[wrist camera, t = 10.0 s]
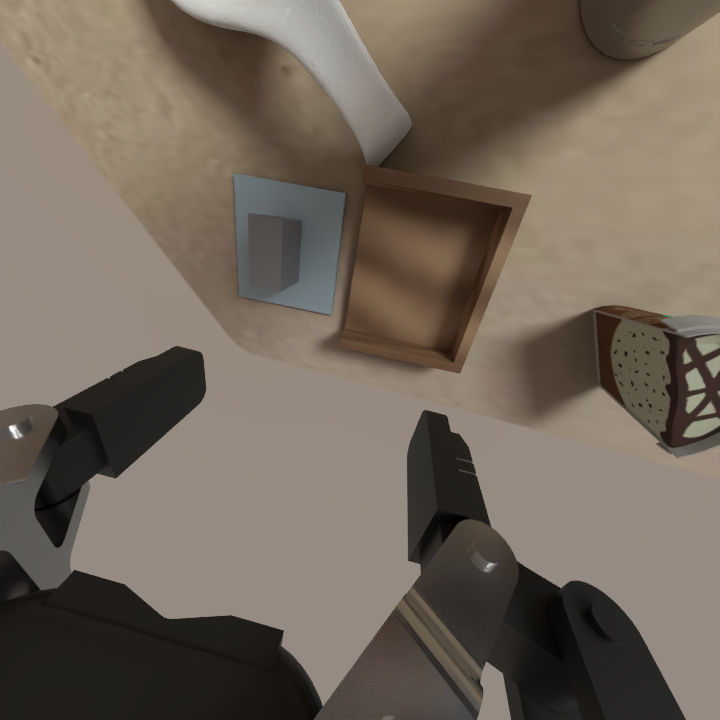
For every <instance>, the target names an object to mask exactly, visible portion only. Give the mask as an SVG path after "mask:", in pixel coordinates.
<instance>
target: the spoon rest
mask: <svg viewBox="0 0 720 720" xmlns="http://www.w3.org/2000/svg"><path fill="white" fill-rule="evenodd" d="M170 1H172V2H173V3H174V4H175V5H176V6H177V7H178V8H180V9H181V10H182V11H184V12H185V13H187V14H188V15H190V16H192V17H193V18H195V19H197V20H199V21H202V22H204V23H207V24H210V25H213V26H217V27H221V28H225V29H231V30H237V31H243V32H247V33H252V34H255V35H258V36H261V37H264V38H266V39H268V40H270V41H272V42H274V43H276V44H278V45H279V46H281V47H282V48H284V49H285V50H287V51H288V52H289V53H290V54H292V55H293V56H294V57H295V58H296V59H297V60H298V61H299V62H300V63H301V64H302V65H303V66H304V67H305V69H306V70H307V71H308V72H309V73H310V74H311V76H312V77H313V78H314V79H315V80H316V81H317V83H318V84H319V85H320V86H321V88H322V89H323V90H324V91H325V93H326V94H327V95H328V96H329V97H330V99H331V100H332V101H333V103H334V104H335V106H336V107H337V108H338V110H339V111H340V112H341V114H342V115H343V117H344V118H345V120H346V121H347V123H348V124H349V126H350V128H351V130H352V131H353V133H354V135H355V137H356V139H357V141H358V143H359V145H360V147H361V149H362V152H363V155H364V158H365V161H366V164H367V165H372V166H379V165H380V164H381V163H382V162H383V161H384V160H385V159H386V157H387V156H388V155H389V154H390V153H391V152H392V151H393V150H394V149H395V147H396V146H397V145H398V144H399V143H400V142H401V140H402V139H403V138H404V137H405V136H406V134H407V133H408V132H409V130H410V129H411V127H412V121H411V119H410V117H409V114H408V112H407V111H406V110H405V108H404V107H403V106H402V104H401V103H400V102H399V100H398V99H397V97H396V96H395V94H394V93H393V91H392V90H391V88H390V87H389V85H388V84H387V82H386V81H385V79H384V78H383V76H382V74H381V73H380V71H379V70H378V68H377V66H376V65H375V63H374V61H373V60H372V58H371V56H370V54H369V53H368V51H367V49H366V47H365V46H364V44H363V42H362V40H361V39H360V37H359V35H358V33H357V32H356V30H355V28H354V26H353V24H352V22H351V21H350V19H349V17H348V15H347V13H346V12H345V10H344V8H343V6H342V4H341V3H340V1H339V0H170Z"/></svg>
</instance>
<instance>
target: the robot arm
mask: <svg viewBox="0 0 720 720" xmlns="http://www.w3.org/2000/svg"><path fill="white" fill-rule="evenodd" d="M580 6H581V15H582V22H583V25H584V28H585V31H586V33H587V36H588V37H589V39H590V40H591V42H592V43H593V45H594V46H595V47H596V48H597V49H598V50H600V51H601V52H602V53H604V54H605V55H607V56H610V57H613V58H616V59H629V60H633V59H638V58H642V57H646V56H650V55H652V54H654V53H656V52H659V51H661V50H663V49H665V48H667V47H668V46H670V45H671V44H673V43H674V42H676V41H677V40H679V39H680V38H682V37H683V36H685V35H686V34H688V33H689V32H691V31H692V30H694V29H695V28H697V27H698V26H700V25H701V24H703V23H704V22H706V21H707V20H709V19H710V18H712V17H713V16H715V15H716V14H718V13H719V12H720V0H580ZM205 392H206V381H205V370H204V360H203V355H202V353H201V352H198V351H194V350H191V349H187V348H183V347H179V346H176V347H173V348H171V349H169V350H167V351H165V352H164V353H162V354H160V355H158V356H156V357H152V358H148V359H145V360H142V361H139V362H137V363H135V364H133V365H131V366H129V367H127V368H125V369H124V370H123V372H122V371H120V372H118V373H116V374H114V375H112V376H111V377H110V379H108V378H106V379H105V380H103V381H101V382H99V383H97V384H95V385H93V386H92V387H89V388H88V389H86V390H84V391H82V392H80V393H78V394H76V395H74V396H73V397H71V398H69V399H67V400H65V401H63V402H61V403H59V404H57V405H56V406H53V407H51V406H48V405H41V404H33V405H23V406H17V407H13V408H8V409H5V410H2V411H0V720H477V717H478V715H479V711H480V708H481V704H482V699H483V687H482V686H481V684H480V679H481V674H482V671H483V668H484V666H485V663H486V661H487V662H488V663H490V664H491V665H492V666H494V667H495V668H496V669H498V670H499V671H500V672H502V673H503V676H504V682H505V687H506V693H507V698H508V704H509V710H510V715H511V720H686V719H685V717H684V715H683V713H682V711H681V710H680V708H679V706H678V704H677V702H676V700H675V698H674V696H673V694H672V693H671V691H670V689H669V687H668V685H667V683H666V681H665V680H664V678H663V676H662V674H661V672H660V670H659V668H658V666H657V664H656V662H655V661H654V659H653V657H652V655H651V653H650V651H649V649H648V647H647V646H646V644H645V642H644V640H643V638H642V637H641V635H640V633H639V631H638V630H637V628H636V627H635V626H634V624H633V622H632V621H631V620H630V618H629V617H628V616H627V615H626V614H625V613H624V611H623V610H622V609H621V608H620V607H619V606H618V605H617V604H616V603H615V602H614V601H613V600H612V599H611V598H609V597H608V596H607V595H606V594H604V593H603V592H602V591H600V590H599V589H597V588H596V587H594V586H592V585H590V584H588V583H585V582H582V581H570V582H569V583H567V584H566V585H564V586H563V587H562V588H560V587H558V586H556V585H555V584H553V583H551V582H549V581H548V580H546V579H545V578H543V577H541V576H539V575H538V574H536V573H535V572H533V571H531V570H530V569H528V568H526V567H525V566H523V565H522V564H520V563H519V562H517V560H516V558H515V556H514V553H513V551H512V550H511V548H510V546H509V545H508V544H507V542H506V541H505V540H504V539H503V538H502V536H501V535H500V534H498V532H497V531H495V530H494V529H493V528H492V527H491V525H490V521H489V518H488V514H487V510H486V507H485V503H484V500H483V496H482V493H481V490H480V486H479V483H478V479H477V476H476V472H475V468H474V464H472V457H471V454H470V450H469V447H468V446H467V444H466V443H465V442H464V440H463V439H462V437H461V436H460V435H459V434H456V433H453V432H451V431H450V426H449V422H448V418H447V416H446V415H442V414H439V413H435V412H431V411H427V410H424V411H423V412H422V414H421V417H420V419H419V422H418V424H417V426H416V430H415V431H414V434H413V436H412V439H411V441H410V445H409V449H408V455H407V492H408V493H407V495H408V496H407V497H408V561H411V562H415V563H418V564H421V575H420V576H419V578H418V579H417V580H416V582H415V583H414V585H413V586H412V587H411V589H410V590H409V591H408V593H407V594H405V596H404V597H403V598H402V600H401V601H400V602H399V603H398V605H397V606H396V607H395V609H394V610H393V611H392V613H391V614H390V616H389V617H388V618H387V620H386V621H385V622H384V624H383V625H382V627H381V628H380V629H379V631H378V632H377V633H376V635H375V636H374V637H373V639H372V640H371V642H370V643H369V645H368V646H367V647H366V648H365V650H364V651H363V653H362V654H361V655H360V657H359V658H358V659H357V661H356V662H355V664H354V665H353V667H352V668H351V669H350V670H349V672H348V673H347V675H346V676H345V677H344V679H343V680H342V681H341V683H340V684H339V685H338V687H337V688H336V690H335V691H334V692H333V694H332V695H331V697H330V698H329V699H328V701H327V702H326V703H325V705H324V706H322V703H321V700H320V697H319V695H318V693H317V691H316V689H315V687H314V685H313V683H312V681H311V679H310V678H309V676H308V675H307V673H306V671H305V670H304V668H303V667H302V666H301V664H300V663H299V662H298V661H297V660H296V659H295V658H294V657H293V655H291V654H290V653H289V652H288V651H287V650H285V649H284V648H283V647H282V646H281V645H282V638H283V632H284V631H283V630H280V629H276V628H273V627H269V626H266V625H262V624H259V623H256V622H252V621H249V620H245V619H242V618H238V617H235V616H231V615H230V616H215V617H198V618H183V619H167V618H164V617H163V616H161V615H160V614H159V613H158V612H156V611H155V610H154V609H153V608H152V607H151V606H149V605H148V604H147V603H146V602H145V601H143V600H142V599H141V598H140V597H139V596H138V595H136V594H135V593H134V592H133V591H132V590H131V589H129V588H128V587H127V586H126V585H125V584H121V583H117V582H114V581H111V580H107V579H103V578H100V577H97V576H94V575H90V574H87V573H83V572H80V571H76V570H74V571H73V572H72V573H71V569H70V556H71V551H72V548H73V544H74V541H75V538H76V534H77V531H78V527H79V524H80V521H81V517H82V514H83V511H84V507H85V504H86V501H87V497H88V494H89V490H90V483H89V481H88V480H89V479H91V478H92V477H93V476H94V475H96V474H97V473H98V474H101V475H105V476H108V477H112V478H117V477H118V476H119V475H120V474H121V473H122V472H123V471H125V470H126V469H127V468H128V467H129V466H130V465H131V464H132V463H134V462H135V461H136V460H137V459H138V458H139V457H140V456H141V455H143V454H144V453H145V452H146V451H147V450H148V449H149V448H150V447H152V446H153V445H154V444H155V443H156V442H157V441H158V440H159V439H161V438H162V437H163V436H164V435H165V434H166V433H167V432H168V431H169V430H170V429H172V428H173V427H174V426H175V425H176V424H177V423H178V422H180V420H182V419H183V418H184V417H185V416H186V415H187V414H189V413H190V412H191V411H192V410H193V409H194V408H195V407H196V406H197V405H198V404H200V402H201V401H202V399H203V398H204V395H205Z"/></svg>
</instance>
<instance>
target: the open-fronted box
mask: <svg viewBox="0 0 720 720" xmlns="http://www.w3.org/2000/svg"><path fill="white" fill-rule="evenodd" d="M363 180H364V181H365V183H366V184H367V188H366V195H365V201H364V207H363V214H362V220H361V227H360V233H359V239H358V246H357V252H356V259H355V265H354V271H353V278H352V284H351V291H350V297H349V303H348V310H347V316H346V323H345V329H344V330H343V332H342V334H341V336H340V338H339V342H338V347H341V348H346V349H350V350H355V351H359V352H364V353H368V354H373V355H377V356H382V357H387V358H391V359H396V360H400V361H405V362H409V363H414V364H419V365H423V366H428V367H432V368H437V369H441V370H446V371H451V372H455V373H460V372H461V370H462V367H463V365H464V362H465V360H466V357H467V355H468V352H469V350H470V347H471V345H472V342H473V340H474V337H475V335H476V332H477V330H478V327H479V325H480V322H481V320H482V317H483V315H484V313H485V310H486V308H487V305H488V303H489V300H490V298H491V295H492V293H493V290H494V288H495V285H496V283H497V280H498V278H499V275H500V273H501V270H502V268H503V265H504V263H505V260H506V258H507V255H508V253H509V251H510V248H511V246H512V243H513V241H514V238H515V236H516V233H517V231H518V228H519V226H520V223H521V221H522V218H523V216H524V213H525V211H526V208H527V206H528V203H529V201H530V198H531V196H532V195H527V194H522V193H517V192H511V191H506V190H501V189H495V188H490V187H485V186H479V185H474V184H469V183H463V182H458V181H453V180H447V179H442V178H436V177H431V176H426V175H420V174H415V173H410V172H404V171H399V170H394V169H388V168H383V167H378V166H372V165H367V164H365V168H364V175H363Z"/></svg>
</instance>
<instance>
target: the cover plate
mask: <svg viewBox="0 0 720 720" xmlns="http://www.w3.org/2000/svg"><path fill="white" fill-rule="evenodd" d="M233 174H234V196H235V217H236V239H237V261H238V283H239V296H241V297H245V298H250V299H255V300H260V301H265V302H270V303H275V304H280V305H285V306H290V307H294V308H299V309H304V310H309V311H314V312H319V313H324V314H329V315H332V311H333V302H334V294H335V286H336V277H337V269H338V261H339V252H340V244H341V235H342V227H343V219H344V210H345V202H346V193H342V192H336V191H331V190H325V189H320V188H314V187H309V186H303V185H297V184H292V183H286V182H281V181H275V180H270V179H264V178H259V177H253V176H247V175H242V174H236V173H233Z"/></svg>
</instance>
